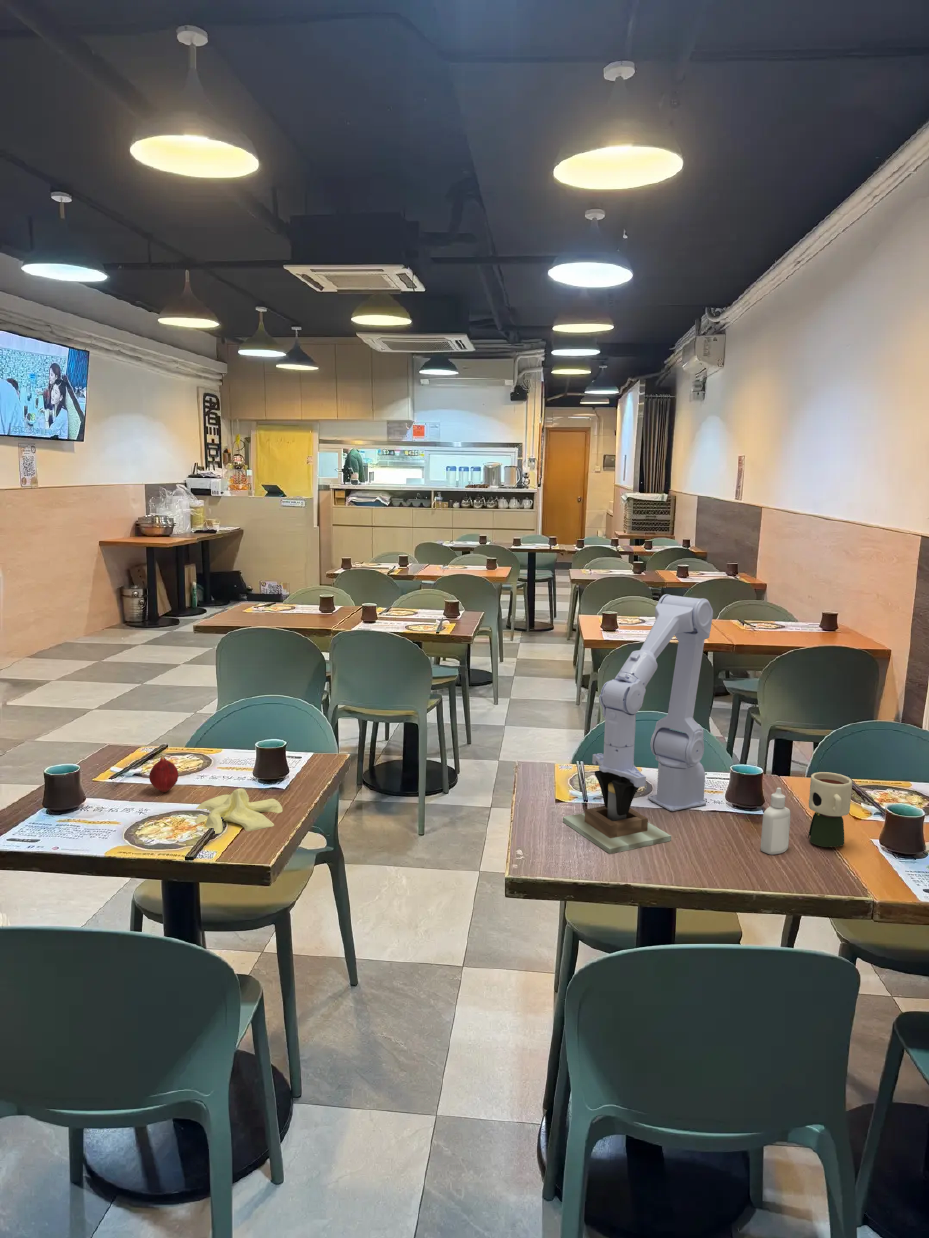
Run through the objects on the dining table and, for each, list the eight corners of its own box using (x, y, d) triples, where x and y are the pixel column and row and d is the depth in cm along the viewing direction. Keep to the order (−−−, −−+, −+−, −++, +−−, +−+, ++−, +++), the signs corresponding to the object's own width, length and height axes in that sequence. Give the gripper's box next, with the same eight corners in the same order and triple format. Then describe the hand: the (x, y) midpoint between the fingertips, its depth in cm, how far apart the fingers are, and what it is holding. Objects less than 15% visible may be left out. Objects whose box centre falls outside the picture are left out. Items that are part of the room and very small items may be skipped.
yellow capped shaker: (620, 817, 164) (621, 780, 163) (629, 824, 161) (631, 787, 160) (603, 819, 163) (604, 782, 162) (612, 826, 160) (614, 789, 158)
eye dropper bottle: (794, 855, 153) (799, 792, 151) (764, 855, 152) (768, 792, 150) (783, 844, 157) (788, 783, 155) (754, 845, 157) (759, 784, 155)
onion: (184, 790, 180) (183, 755, 179) (162, 799, 175) (160, 762, 174) (167, 785, 183) (165, 750, 182) (144, 793, 178) (142, 757, 177)
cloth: (205, 798, 178) (204, 770, 177) (292, 799, 178) (292, 771, 177) (167, 842, 156) (166, 811, 155) (267, 844, 156) (266, 812, 155)
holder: (620, 810, 172) (621, 794, 172) (670, 840, 158) (671, 823, 157) (562, 821, 166) (563, 804, 166) (609, 853, 152) (610, 835, 152)
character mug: (798, 830, 163) (803, 767, 161) (836, 833, 162) (842, 769, 160) (813, 855, 153) (819, 787, 151) (854, 857, 152) (861, 789, 150)
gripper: (580, 734, 164) (578, 800, 166) (624, 756, 151) (621, 827, 153) (610, 730, 167) (607, 795, 169) (656, 751, 154) (652, 821, 156)
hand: (616, 810), depth 162 cm, fingers closed on yellow capped shaker, 3 cm apart
